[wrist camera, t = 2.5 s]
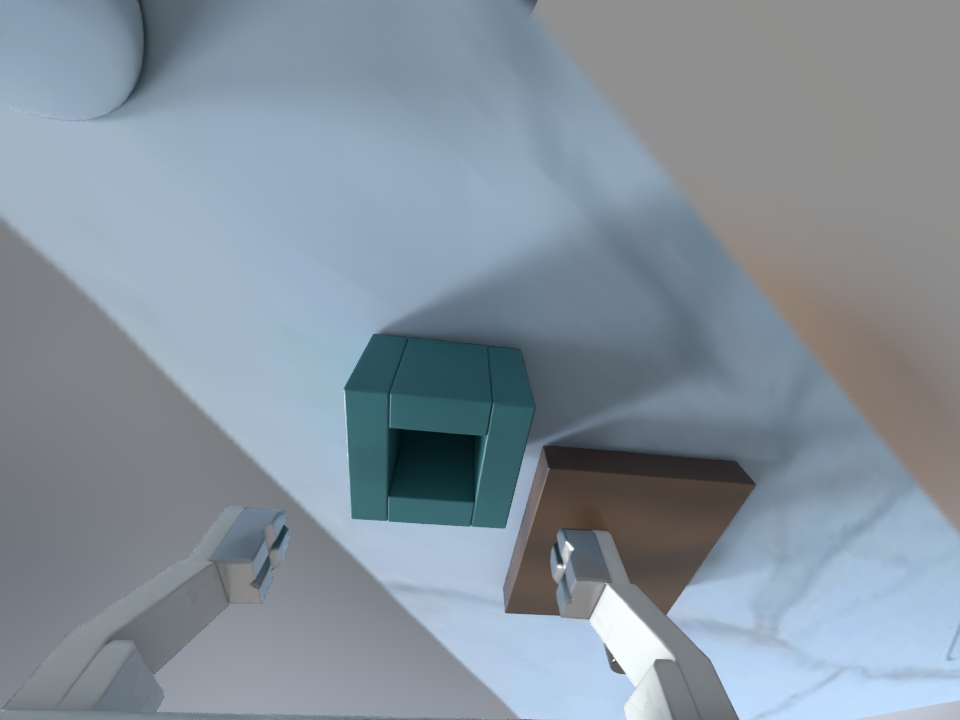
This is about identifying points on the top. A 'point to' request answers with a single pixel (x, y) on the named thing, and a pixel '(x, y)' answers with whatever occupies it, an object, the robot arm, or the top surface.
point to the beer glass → (69, 56)
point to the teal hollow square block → (436, 431)
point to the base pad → (624, 520)
